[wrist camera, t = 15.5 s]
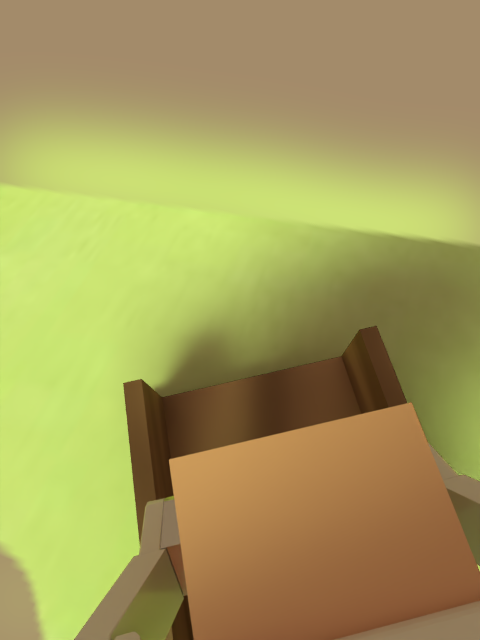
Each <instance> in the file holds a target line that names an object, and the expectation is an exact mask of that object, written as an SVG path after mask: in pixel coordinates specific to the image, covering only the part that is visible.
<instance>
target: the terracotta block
mask: <svg viewBox="0 0 480 640" xmlns="http://www.w3.org/2000/svg"><path fill="white" fill-rule="evenodd" d="M169 464H170V472H171V479H172V486H173V493H174V500H175V508H176V515H177V522H178V529H179V537H180V544H181V551H182V558H183V566H184V573H185V580H186V587H187V595H188V602H189V609H190V616H191V624H192V631H193V638H194V640H334V639H338V638H342V637H346V636H349V635H353V634H357V633H360V632H364V631H368V630H372V629H375V628H379V627H383V626H387V625H390V624H394V623H398V622H401V621H405V620H409V619H413V618H416V617H420V616H424V615H427V614H431V613H435V612H439V611H442V610H446V609H450V608H453V607H457V606H461V605H465V604H468V603H472V602H476V601H479V600H480V571H479V569H478V566H477V564H476V561H475V559H474V556H473V554H472V551H471V549H470V546H469V544H468V541H467V539H466V536H465V534H464V531H463V529H462V526H461V524H460V521H459V519H458V516H457V514H456V511H455V509H454V506H453V504H452V501H451V499H450V496H449V494H448V491H447V489H446V487H445V484H444V482H443V479H442V477H441V474H440V472H439V469H438V467H437V464H436V462H435V459H434V457H433V454H432V452H431V449H430V447H429V444H428V442H427V439H426V437H425V434H424V432H423V429H422V427H421V424H420V422H419V419H418V417H417V414H416V412H415V409H414V407H413V404H412V402H411V403H406V404H402V405H398V406H394V407H389V408H385V409H381V410H377V411H372V412H368V413H364V414H360V415H355V416H351V417H347V418H343V419H338V420H334V421H330V422H326V423H322V424H317V425H313V426H309V427H305V428H300V429H296V430H292V431H288V432H283V433H279V434H275V435H271V436H266V437H262V438H258V439H254V440H249V441H245V442H241V443H237V444H233V445H228V446H224V447H220V448H216V449H211V450H207V451H203V452H199V453H194V454H190V455H186V456H182V457H177V458H173V459H169Z"/></svg>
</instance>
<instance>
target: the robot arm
mask: <svg viewBox="0 0 480 640" xmlns="http://www.w3.org/2000/svg"><path fill="white" fill-rule="evenodd" d="M428 444H429V443H428ZM429 447H430V449H431V452H432V454H433V457H434V459H435V462H436V464H437V467H438V469H439V472H440V474H441V477H442V479H443V482H444V484H445V487H446V489H447V491H448V494H449V496H450V499H451V501H452V504H453V506H454V509H455V511H456V514H457V516H458V519H459V521H460V524H461V526H462V529H463V531H464V534H465V536H466V539H467V541H468V544H469V546H470V549H471V551H472V554H473V556H474V559H475V561H476V564H478V565H479V566H480V481H477V480H475V479H473V478H471V477H468V476H466V475H459V476H458V474H457V473H456V472H455V471H454V470H453V469H452V468H451V467H450V466H449V465H448V463H447V462H446V461H445V460H444V459H443V458H442V457H441V456H440V455H439V454H438V453H437V451H436V450H435V449H434V448H433V447H432V446H431V445H430V444H429ZM185 595H187V587H186V580H185V573H184V566H183V558H182V551H181V544H180V537H179V529H178V522H177V515H176V508H175V500H174V496H171V497H166V498H163V499H159V500H154V501H149V502H147V504H146V507H145V513H144V521H143V528H142V536H141V544H140V552H139V555H137V556H134V557H133V558H132V560H131V561H130V562H129V564H128V565H127V566H126V568H125V569H124V571H123V572H122V573H121V575H120V576H119V578H118V579H117V580H116V582H115V583H114V585H113V586H112V587H111V589H110V590H109V592H108V593H107V594H106V596H105V597H104V599H103V600H102V601H101V603H100V604H99V606H98V607H97V608H96V610H95V611H94V613H93V614H92V615H91V617H90V618H89V619H88V621H87V622H86V624H85V625H84V626H83V628H82V629H81V631H80V632H79V633H78V635H77V636H76V638H75V639H74V640H165V639H166V637H167V634H168V632H169V630H170V628H171V626H172V623H173V621H174V619H175V617H176V615H177V612H178V610H179V608H180V606H181V603H182V601H183V599H184V597H183V596H185ZM334 640H480V600H479V601H476V602H472V603H468V604H465V605H461V606H457V607H453V608H450V609H446V610H442V611H439V612H435V613H431V614H427V615H424V616H420V617H416V618H413V619H409V620H405V621H401V622H398V623H394V624H390V625H387V626H383V627H379V628H375V629H372V630H368V631H364V632H360V633H357V634H353V635H349V636H346V637H342V638H338V639H334Z"/></svg>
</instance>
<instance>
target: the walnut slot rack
mask: <svg viewBox="0 0 480 640" xmlns="http://www.w3.org/2000/svg"><path fill="white" fill-rule="evenodd" d="M123 384H124V394H125V404H126V414H127V424H128V433H129V443H130V453H131V463H132V473H133V483H134V492H135V502H136V512H137V522H138V532H139V541H140V544H141V536H142V528H143V521H144V513H145V507H146V504H147V502H149V501H154V500H159V499H163V498H166V497H171V496H174V493H173V486H172V479H171V472H170V464H169V459H173V458H177V457H182V456H186V455H190V454H194V453H199V452H203V451H207V450H211V449H216V448H220V447H224V446H228V445H233V444H237V443H241V442H245V441H249V440H254V439H258V438H262V437H266V436H271V435H275V434H279V433H283V432H288V431H292V430H296V429H300V428H305V427H309V426H313V425H317V424H322V423H326V422H330V421H334V420H338V419H343V418H347V417H351V416H355V415H360V414H364V413H368V412H372V411H377V410H381V409H385V408H389V407H394V406H398V405H402V404H406V403H407V401H406V399H405V396H404V394H403V391H402V389H401V386H400V384H399V381H398V379H397V376H396V374H395V371H394V369H393V366H392V364H391V361H390V359H389V356H388V354H387V351H386V348H385V346H384V343H383V341H382V338H381V336H380V333H379V331H378V328H377V326H374V327H369V328H365V329H360V330H359V331H358V333H357V334H356V336H355V337H354V339H353V340H352V342H351V343H350V344H349V346H348V347H347V349H346V350H345V352H344V353H343V355H342V356H341V357H336V358H332V359H328V360H323V361H319V362H315V363H310V364H306V365H301V366H297V367H293V368H288V369H284V370H280V371H275V372H271V373H267V374H262V375H258V376H254V377H249V378H245V379H240V380H236V381H232V382H227V383H223V384H219V385H214V386H210V387H206V388H201V389H197V390H193V391H188V392H184V393H179V394H175V395H171V396H166V397H161V396H160V395H159V394H158V393H157V392H156V391H154V390H153V389H152V388H151V387H150V386H149V385H148V384H146V383H145V382H144V381H143V380H142V379H140V380H135V381H131V382H126V383H123ZM183 597H184V599H183V601H182V603H181V606H180V608H179V610H178V612H177V615H176V617H175V619H174V621H173V623H172V626H171V628H170V630H169V632H168V634H167V637H166V639H165V640H194V638H193V631H192V624H191V616H190V609H189V602H188V595H185V596H183Z"/></svg>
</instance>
